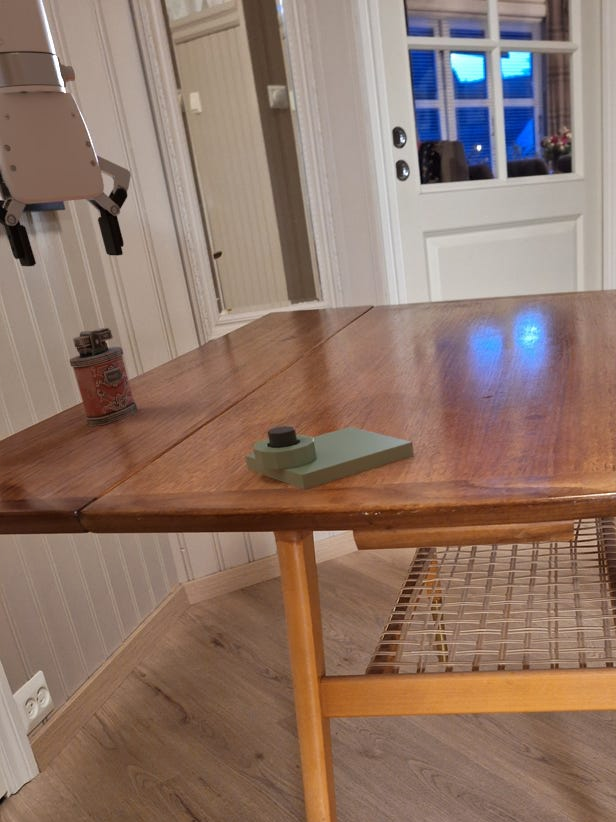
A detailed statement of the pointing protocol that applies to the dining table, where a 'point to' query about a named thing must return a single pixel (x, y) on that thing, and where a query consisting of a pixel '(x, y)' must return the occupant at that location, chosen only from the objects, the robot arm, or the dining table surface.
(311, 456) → the scale
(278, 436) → the button
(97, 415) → the lighter
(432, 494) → the dining table surface
